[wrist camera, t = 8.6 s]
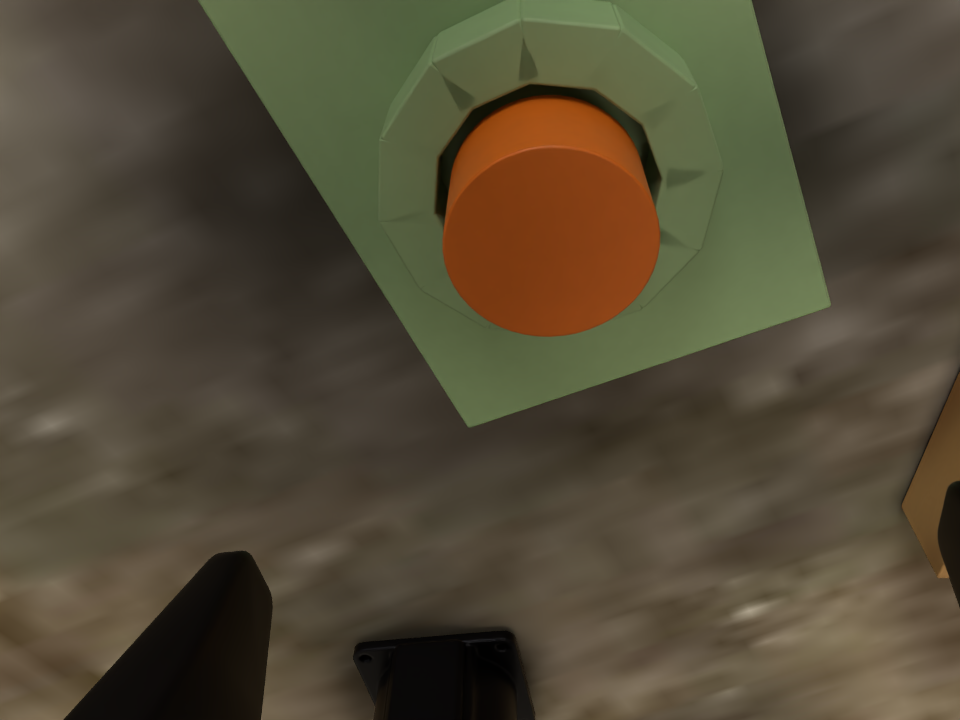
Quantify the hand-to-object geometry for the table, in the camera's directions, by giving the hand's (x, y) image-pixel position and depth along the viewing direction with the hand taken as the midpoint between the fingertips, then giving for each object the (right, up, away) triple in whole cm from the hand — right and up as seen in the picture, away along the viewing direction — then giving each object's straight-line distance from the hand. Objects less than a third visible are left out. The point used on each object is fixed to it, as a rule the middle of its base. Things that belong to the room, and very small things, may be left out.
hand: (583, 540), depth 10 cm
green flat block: (0, +8, +10) cm, 13 cm away
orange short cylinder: (0, +6, +8) cm, 9 cm away
